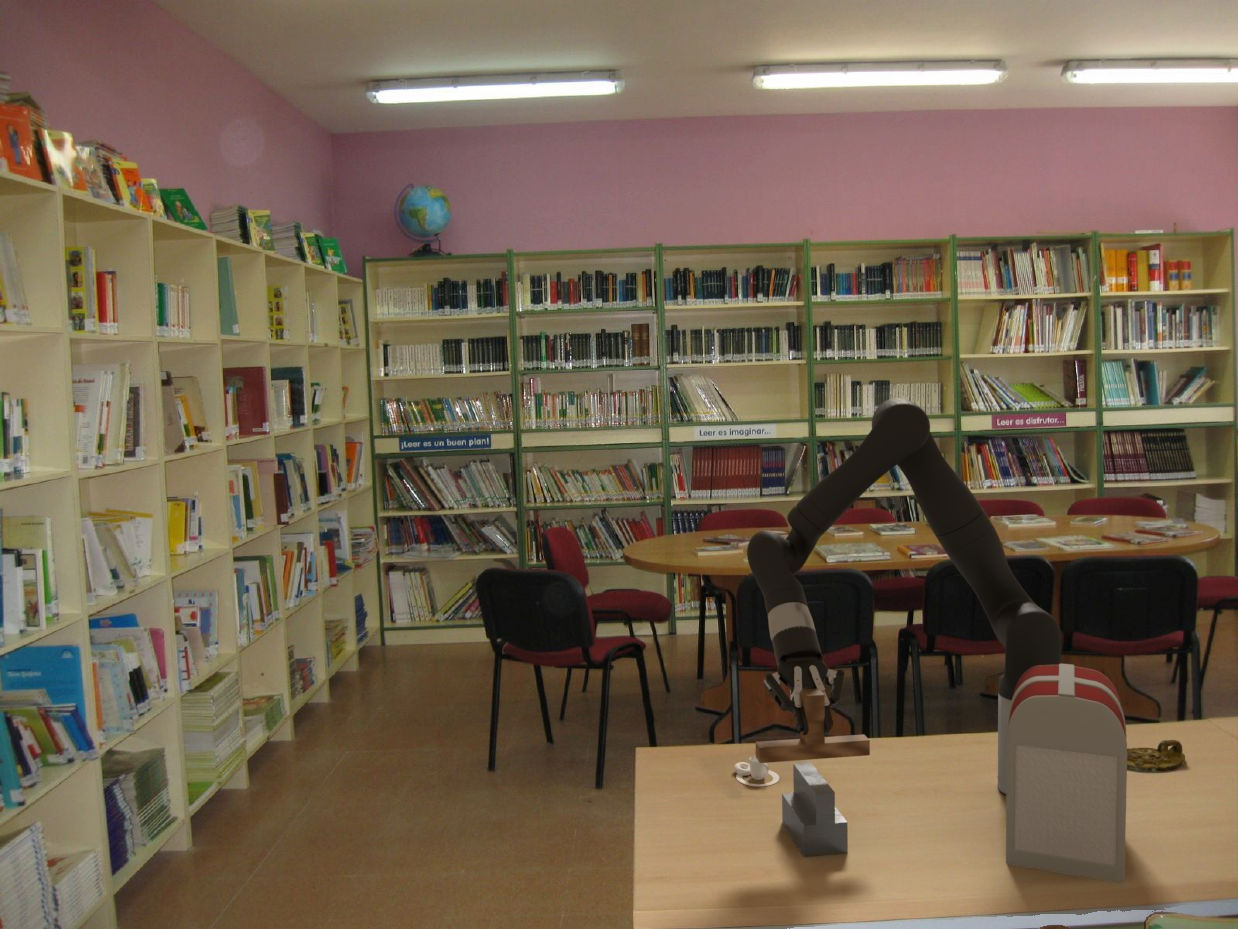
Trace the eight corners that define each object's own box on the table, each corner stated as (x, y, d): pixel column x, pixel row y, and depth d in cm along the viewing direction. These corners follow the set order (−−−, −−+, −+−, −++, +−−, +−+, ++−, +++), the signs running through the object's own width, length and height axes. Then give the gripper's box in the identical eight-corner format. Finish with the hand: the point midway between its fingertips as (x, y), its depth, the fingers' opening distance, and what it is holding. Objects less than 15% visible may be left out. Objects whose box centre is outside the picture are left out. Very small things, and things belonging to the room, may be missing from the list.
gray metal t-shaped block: (782, 822, 167) (781, 764, 166) (823, 819, 168) (822, 761, 167) (804, 857, 155) (803, 794, 154) (847, 853, 156) (847, 791, 155)
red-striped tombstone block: (1003, 863, 151) (1005, 690, 149) (1010, 815, 167) (1011, 657, 165) (1126, 884, 144) (1130, 702, 142) (1120, 831, 160) (1124, 667, 158)
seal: (1120, 781, 183) (1198, 775, 184) (1122, 757, 182) (1200, 751, 183) (1092, 756, 192) (1167, 750, 193) (1094, 733, 191) (1169, 728, 192)
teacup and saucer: (728, 772, 189) (728, 751, 188) (767, 767, 191) (767, 746, 190) (745, 791, 180) (744, 769, 180) (786, 785, 182) (786, 764, 182)
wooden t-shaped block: (863, 748, 163) (863, 686, 162) (870, 756, 160) (870, 692, 159) (755, 756, 160) (754, 692, 159) (760, 763, 158) (759, 699, 156)
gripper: (756, 626, 165) (777, 725, 154) (839, 622, 166) (865, 719, 155) (749, 649, 170) (768, 745, 160) (828, 644, 172) (853, 739, 161)
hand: (816, 731), depth 158 cm, fingers closed on wooden t-shaped block, 3 cm apart
